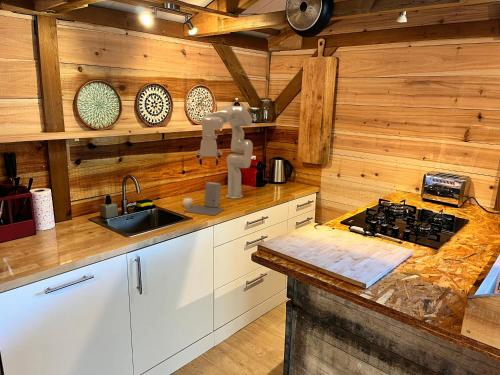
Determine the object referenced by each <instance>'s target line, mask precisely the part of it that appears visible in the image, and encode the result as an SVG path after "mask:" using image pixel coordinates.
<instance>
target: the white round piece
mask: <svg viewBox="0 0 500 375" xmlns="http://www.w3.org/2000/svg"><path fill="white" fill-rule="evenodd" d="M182 203H183V208H191V207H193V206H194V204H193V203H194V202H193V198H192V197H185V198H183V201H182Z"/></svg>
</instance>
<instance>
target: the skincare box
mask: <svg viewBox="0 0 500 375" xmlns="http://www.w3.org/2000/svg"><path fill="white" fill-rule="evenodd" d="M221 187H222V183H218V182H215V181H214V182H212V181H210V182H205V191H204V192H205V194H204V202H203V203H204V207H212V208H218V207H220V201H221V200H220V199H221V190H222V189H221Z"/></svg>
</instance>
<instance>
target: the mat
mask: <svg viewBox="0 0 500 375" xmlns="http://www.w3.org/2000/svg"><path fill="white" fill-rule="evenodd" d="M225 210H226V209H225V208H220V207H219V208H218V207H215V208H214V207H207V206H203V205H193V206H192V207H188V208H187V209H185V210H183V212H184V213H190V214H199V215H205V216H212V217H216V216H217V215H219V214H221V213H222V212H224V211H225Z"/></svg>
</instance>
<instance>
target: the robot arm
mask: <svg viewBox="0 0 500 375" xmlns="http://www.w3.org/2000/svg"><path fill="white" fill-rule="evenodd" d="M252 122H253V118H252V115H251V114H250V113H249V111H248V110H247V109H246V107H244V106H243V105H242V106H241V105H229V106H227V107H225V108H223V109H222V110H219V111H215V112H211V113H207V114H205V115H204V116H203V117H202V118H201V120H200V125H201V131H202V139H201V141H200V149H198V150H196V151H195V152H194V154H195V156H196V158H197V159H198V160H199V163H198V164H199V165H200V167H202V166H203V157H208V158H209V157H211V158H212V157H215V166H216V167H218V165H219V159H220V158H221V157H222V155H223V153H224V152H223V151H221V150H219V149H218V146H217V145H218V144H217V140H216V139H218V135H216V134H215V132H216V131H215V130H220V129H222V128H223V126H224V125H225V124H227V123H229V125H230V127H231V131H232V134H231V136H232V137H231V142H230V149H231V150H230V151H232V152H234V153H230V154H228V155H227V157H226V165H227V194H226V195H225V197H226V198H229V199H235V200H237V199H242V198H243V197H244V195H243V194H242V191H243V189H242V172H241V170H240V168H241V169H249V168H250V166H251V162H252V157H253V148H254V144H253V142H252V141H251V140H250V139H245V131H244V129H243V127H250V126H251V125H252ZM199 153H200V155H199ZM218 153H219V154H218ZM239 153H241V154H239Z"/></svg>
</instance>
